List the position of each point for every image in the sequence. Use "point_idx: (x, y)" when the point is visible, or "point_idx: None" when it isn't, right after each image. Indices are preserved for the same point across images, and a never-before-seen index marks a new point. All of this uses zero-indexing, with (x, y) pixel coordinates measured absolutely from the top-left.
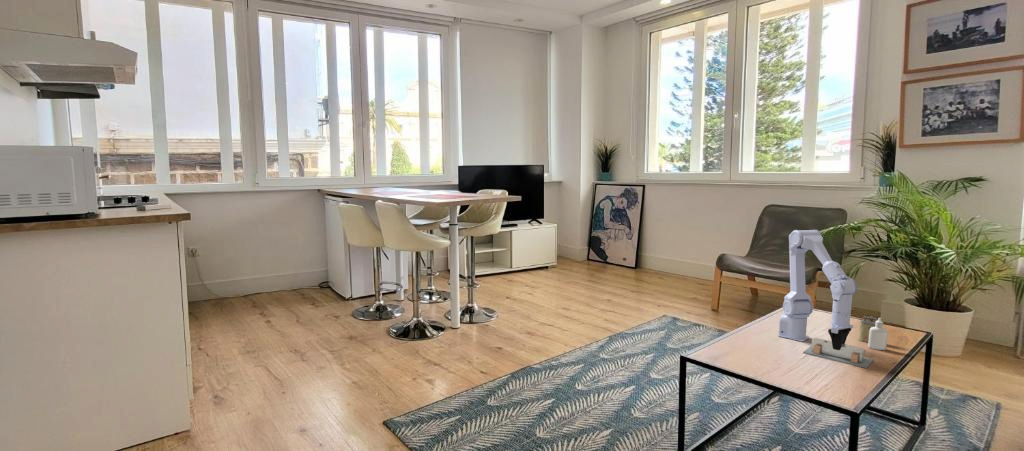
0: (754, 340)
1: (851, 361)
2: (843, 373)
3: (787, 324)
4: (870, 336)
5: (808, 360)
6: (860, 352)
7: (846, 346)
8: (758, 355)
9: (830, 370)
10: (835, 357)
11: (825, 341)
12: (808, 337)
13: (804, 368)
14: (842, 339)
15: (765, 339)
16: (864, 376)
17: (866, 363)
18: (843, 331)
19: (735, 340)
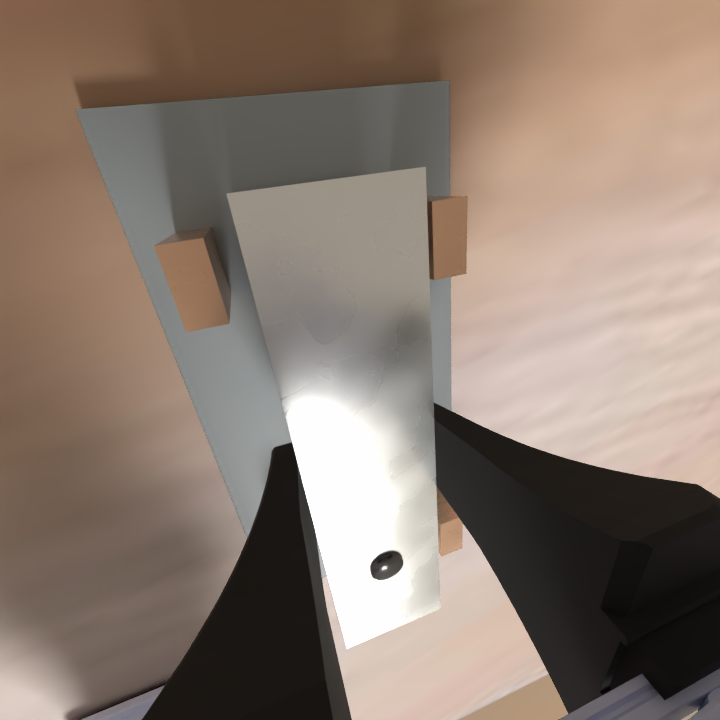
0: (435, 681)
1: None
2: (663, 190)
3: None
4: None
5: (549, 436)
6: (418, 190)
7: (374, 398)
8: None
9: (647, 276)
10: None
11: (395, 564)
12: (92, 717)
13: (679, 374)
14: (574, 461)
15: (380, 690)
16: (656, 22)
17: (327, 123)
18: (336, 680)
19: (493, 682)
